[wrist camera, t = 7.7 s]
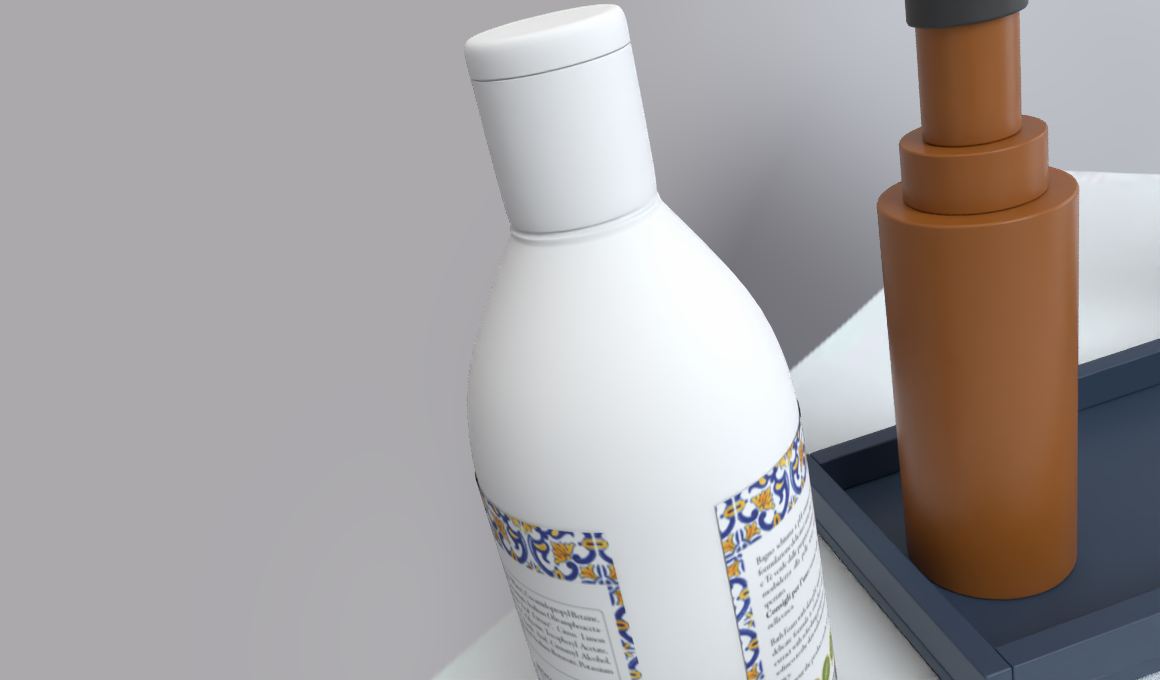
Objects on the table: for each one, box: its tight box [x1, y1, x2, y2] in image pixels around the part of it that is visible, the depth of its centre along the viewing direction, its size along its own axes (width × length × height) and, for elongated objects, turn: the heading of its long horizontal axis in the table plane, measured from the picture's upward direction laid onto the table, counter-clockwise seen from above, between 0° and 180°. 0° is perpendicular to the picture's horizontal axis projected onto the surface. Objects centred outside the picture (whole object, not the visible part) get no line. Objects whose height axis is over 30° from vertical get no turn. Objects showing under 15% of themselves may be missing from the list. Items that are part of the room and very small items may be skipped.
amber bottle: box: [877, 0, 1079, 600], centre depth 27 cm, size 5×5×18 cm
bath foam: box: [465, 4, 837, 680], centre depth 21 cm, size 7×7×20 cm
